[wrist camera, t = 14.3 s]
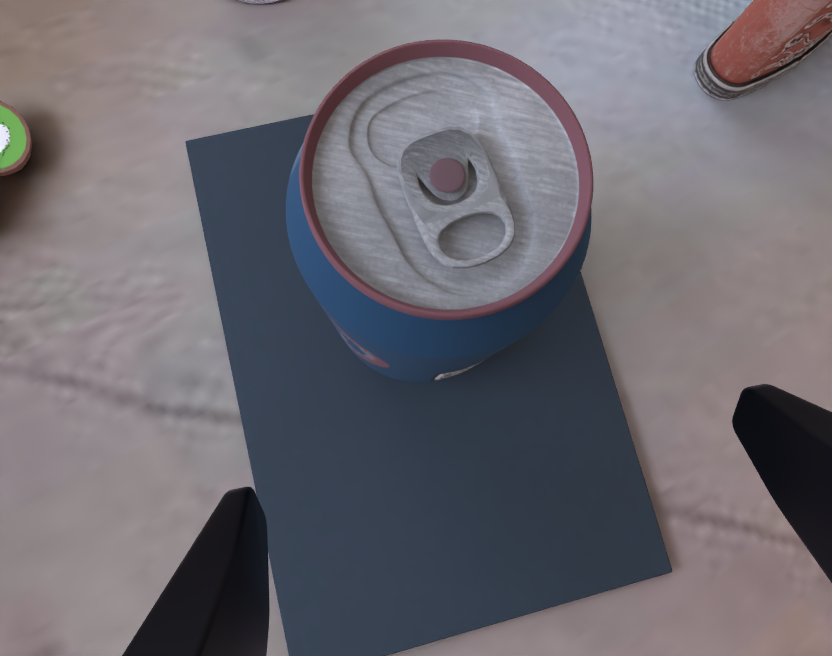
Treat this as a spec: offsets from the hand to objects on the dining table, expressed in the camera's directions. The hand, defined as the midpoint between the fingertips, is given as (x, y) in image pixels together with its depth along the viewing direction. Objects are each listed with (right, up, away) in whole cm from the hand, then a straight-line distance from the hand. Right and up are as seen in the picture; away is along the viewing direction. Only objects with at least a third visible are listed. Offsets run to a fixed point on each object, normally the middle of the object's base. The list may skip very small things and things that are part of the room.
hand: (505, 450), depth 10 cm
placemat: (-2, +1, +13) cm, 13 cm away
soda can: (-1, +3, +13) cm, 13 cm away
